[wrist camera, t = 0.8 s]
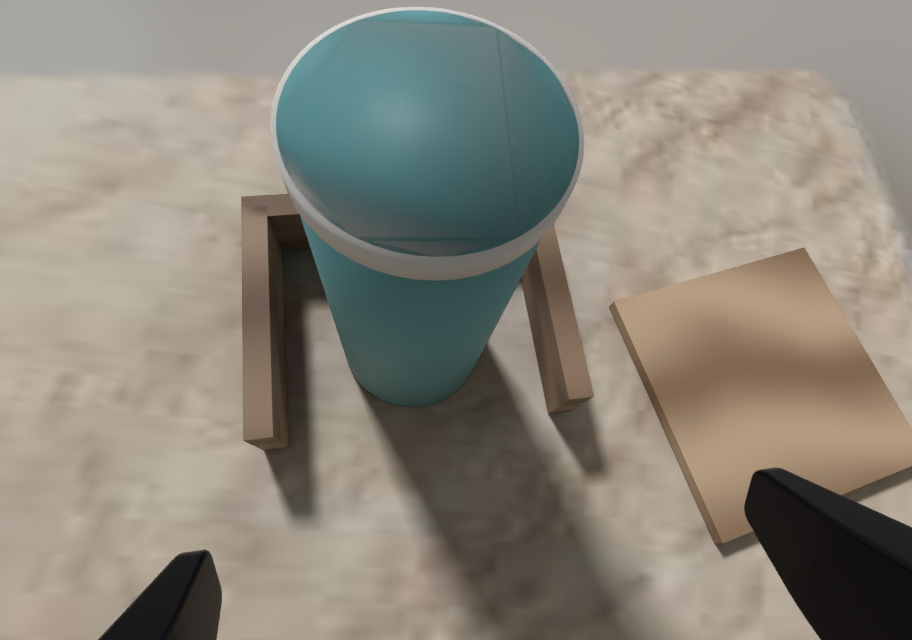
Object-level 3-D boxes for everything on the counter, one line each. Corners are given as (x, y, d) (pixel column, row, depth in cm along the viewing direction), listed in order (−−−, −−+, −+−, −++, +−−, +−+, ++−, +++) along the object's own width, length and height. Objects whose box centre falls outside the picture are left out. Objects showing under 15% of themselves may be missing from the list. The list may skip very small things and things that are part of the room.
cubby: (569, 410, 23) (593, 396, 20) (263, 450, 21) (243, 440, 18) (527, 214, 26) (542, 178, 24) (259, 233, 24) (241, 196, 22)
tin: (500, 385, 23) (633, 219, 10) (362, 427, 22) (311, 299, 9) (456, 263, 25) (521, -11, 12) (327, 296, 24) (242, 29, 11)
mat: (917, 460, 24) (929, 458, 23) (714, 542, 22) (722, 543, 21) (795, 253, 27) (804, 247, 27) (609, 306, 25) (614, 301, 24)
